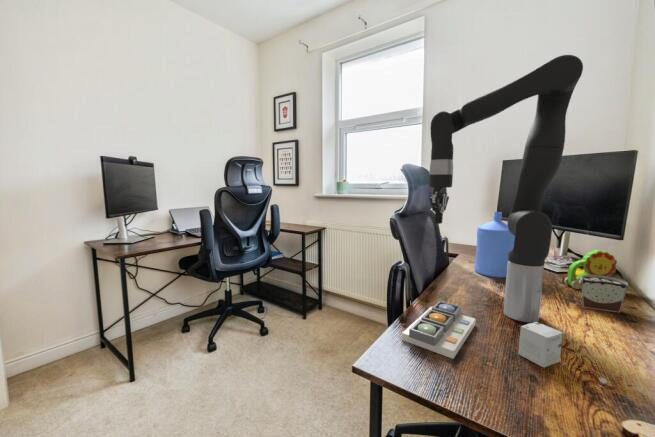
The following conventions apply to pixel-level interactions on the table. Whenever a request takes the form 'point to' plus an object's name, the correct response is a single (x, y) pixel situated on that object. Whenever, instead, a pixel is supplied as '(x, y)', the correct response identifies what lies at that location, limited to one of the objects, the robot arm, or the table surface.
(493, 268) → the water jug
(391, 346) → the table surface
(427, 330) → the sage green button
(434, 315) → the orange button
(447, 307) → the slate blue button
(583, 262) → the toy lion
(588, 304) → the food container
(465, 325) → the button panel
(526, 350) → the skincare box
